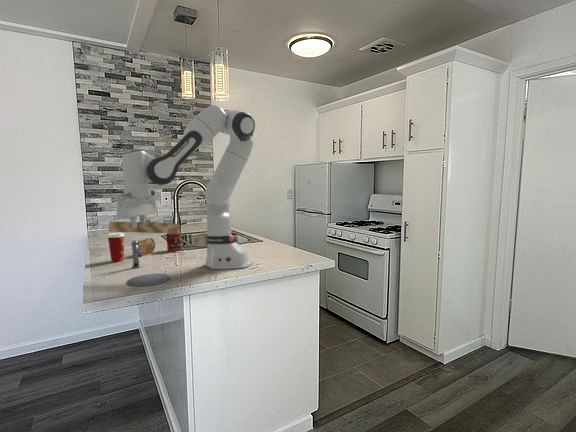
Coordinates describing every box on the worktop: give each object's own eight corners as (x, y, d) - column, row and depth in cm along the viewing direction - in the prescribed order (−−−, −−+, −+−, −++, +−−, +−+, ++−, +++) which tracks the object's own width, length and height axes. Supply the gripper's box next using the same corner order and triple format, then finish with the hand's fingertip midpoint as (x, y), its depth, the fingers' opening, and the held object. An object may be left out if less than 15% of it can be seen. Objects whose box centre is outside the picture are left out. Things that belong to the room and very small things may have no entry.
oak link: (179, 233, 137) (180, 224, 137) (164, 232, 125) (165, 222, 125) (128, 232, 140) (129, 223, 141) (108, 231, 129) (109, 221, 129)
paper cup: (128, 260, 163) (126, 233, 162) (111, 263, 158) (109, 235, 157) (123, 258, 169) (121, 231, 168) (107, 261, 164) (105, 233, 162)
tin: (138, 257, 171) (137, 241, 170) (133, 257, 172) (132, 241, 171) (156, 251, 186) (155, 236, 185) (151, 251, 186) (150, 236, 185)
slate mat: (177, 274, 137) (177, 273, 137) (156, 287, 121) (156, 286, 121) (142, 273, 139) (142, 273, 139) (117, 285, 123) (117, 284, 123)
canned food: (169, 252, 181) (168, 233, 180) (165, 250, 188) (164, 231, 186) (183, 250, 186) (182, 231, 184) (179, 248, 192) (178, 230, 191)
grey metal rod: (142, 266, 152) (140, 239, 150) (137, 268, 148) (135, 241, 147) (135, 266, 152) (133, 239, 151) (130, 268, 149) (128, 241, 147)
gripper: (126, 193, 116) (128, 231, 117) (158, 191, 136) (160, 224, 137) (110, 193, 117) (113, 231, 118) (144, 191, 137) (146, 224, 138)
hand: (138, 227), depth 128 cm, fingers closed on oak link, 2 cm apart
